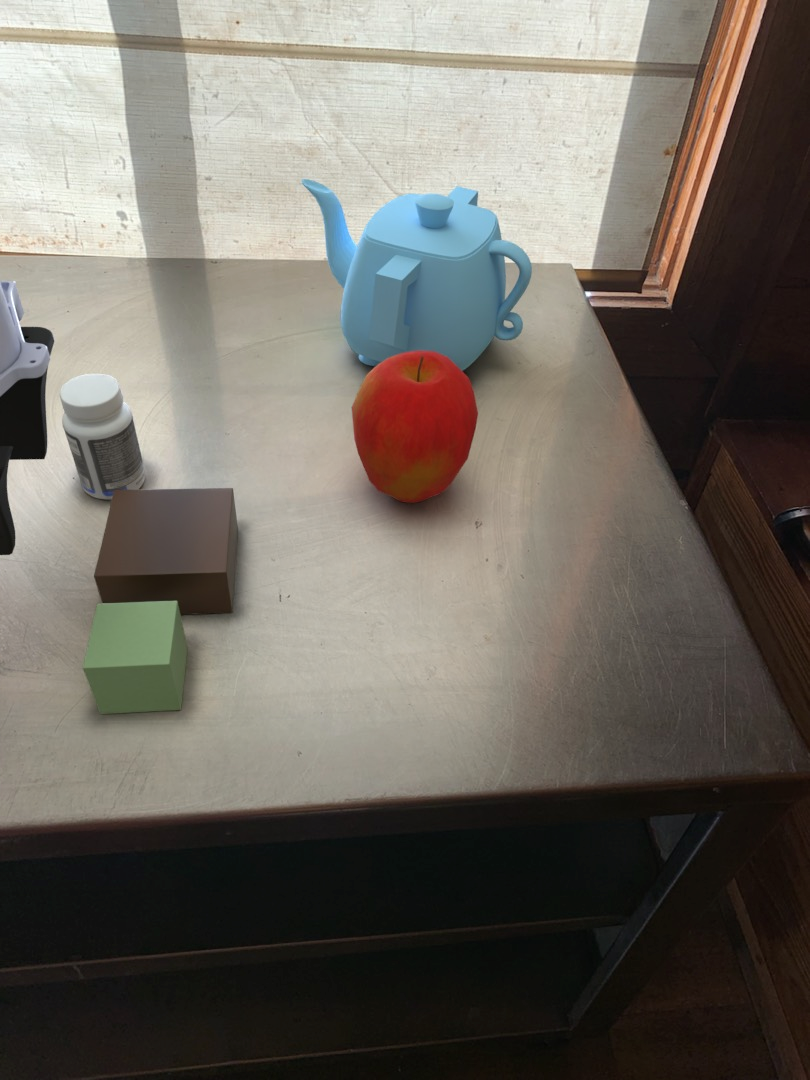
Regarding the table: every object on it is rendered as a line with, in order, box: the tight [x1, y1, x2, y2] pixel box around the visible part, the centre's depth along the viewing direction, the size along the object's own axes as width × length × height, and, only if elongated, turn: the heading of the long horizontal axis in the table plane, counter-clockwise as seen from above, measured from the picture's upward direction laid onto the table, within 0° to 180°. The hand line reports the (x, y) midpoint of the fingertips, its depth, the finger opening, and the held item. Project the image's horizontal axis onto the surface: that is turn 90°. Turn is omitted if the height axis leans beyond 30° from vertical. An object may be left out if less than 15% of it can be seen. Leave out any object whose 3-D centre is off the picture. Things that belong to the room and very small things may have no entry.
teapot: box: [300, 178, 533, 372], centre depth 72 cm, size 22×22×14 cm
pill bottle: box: [59, 372, 146, 501], centre depth 57 cm, size 5×5×8 cm
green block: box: [82, 601, 189, 715], centre depth 46 cm, size 5×5×5 cm
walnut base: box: [93, 487, 239, 616], centre depth 53 cm, size 8×8×4 cm
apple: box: [351, 351, 479, 504], centre depth 58 cm, size 9×9×12 cm
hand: (11, 500), depth 43 cm, fingers open, 7 cm apart
